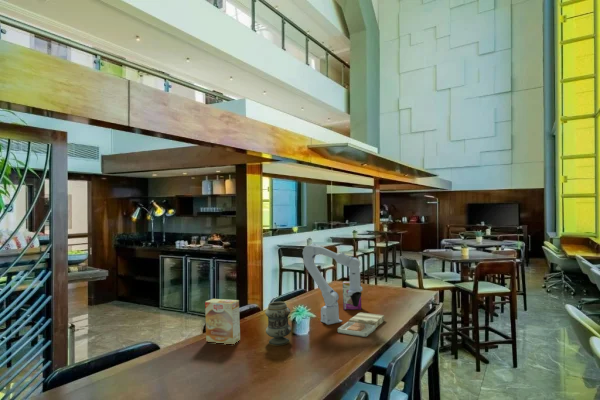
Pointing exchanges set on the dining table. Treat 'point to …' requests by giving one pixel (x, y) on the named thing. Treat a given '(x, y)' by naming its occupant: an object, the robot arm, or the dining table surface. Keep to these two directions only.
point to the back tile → (359, 325)
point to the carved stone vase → (278, 323)
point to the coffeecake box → (222, 321)
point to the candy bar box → (349, 298)
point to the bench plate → (368, 319)
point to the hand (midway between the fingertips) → (355, 306)
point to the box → (363, 333)
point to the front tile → (354, 328)
